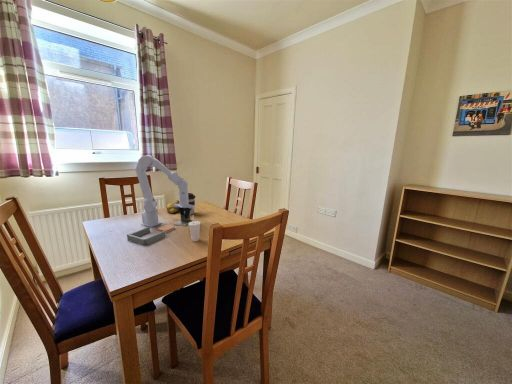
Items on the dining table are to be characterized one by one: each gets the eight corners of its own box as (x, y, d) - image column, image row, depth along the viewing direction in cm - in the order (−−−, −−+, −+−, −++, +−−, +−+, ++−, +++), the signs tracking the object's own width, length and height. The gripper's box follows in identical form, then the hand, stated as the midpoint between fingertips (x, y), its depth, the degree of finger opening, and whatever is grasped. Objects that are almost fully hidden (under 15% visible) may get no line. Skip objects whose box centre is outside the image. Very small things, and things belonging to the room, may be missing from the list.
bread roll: (178, 214, 159) (177, 203, 157) (164, 214, 157) (163, 204, 156) (181, 209, 171) (180, 199, 169) (168, 209, 170) (167, 199, 168)
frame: (127, 239, 115) (126, 234, 114) (148, 231, 126) (148, 226, 126) (145, 245, 109) (144, 240, 108) (165, 236, 121) (165, 231, 120)
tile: (157, 231, 128) (156, 228, 127) (166, 227, 134) (166, 224, 133) (165, 233, 125) (165, 230, 124) (174, 229, 131) (174, 226, 130)
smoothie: (190, 237, 119) (189, 213, 116) (202, 237, 120) (201, 213, 117) (188, 242, 113) (186, 217, 110) (200, 242, 114) (199, 217, 111)
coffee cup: (198, 212, 163) (197, 193, 160) (190, 216, 154) (189, 196, 151) (187, 210, 166) (186, 192, 163) (179, 214, 157) (178, 194, 154)
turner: (183, 219, 148) (182, 211, 147) (193, 220, 146) (193, 212, 145) (173, 224, 138) (173, 216, 136) (184, 225, 136) (184, 217, 135)
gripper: (170, 199, 138) (171, 219, 141) (190, 200, 134) (191, 221, 137) (176, 196, 144) (178, 215, 147) (196, 198, 141) (197, 217, 144)
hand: (185, 218), depth 143 cm, fingers closed on turner, 2 cm apart
